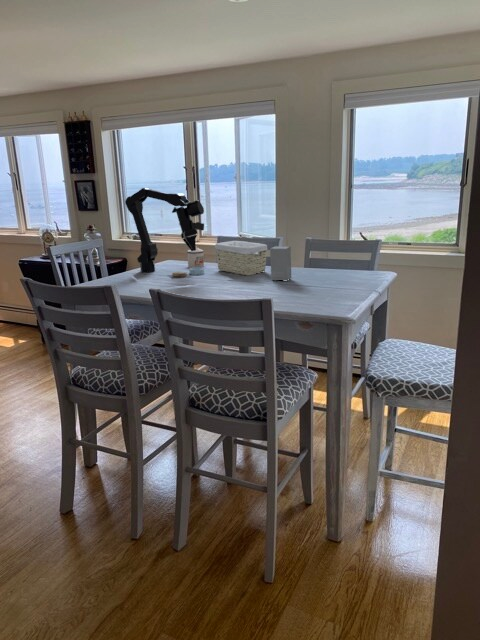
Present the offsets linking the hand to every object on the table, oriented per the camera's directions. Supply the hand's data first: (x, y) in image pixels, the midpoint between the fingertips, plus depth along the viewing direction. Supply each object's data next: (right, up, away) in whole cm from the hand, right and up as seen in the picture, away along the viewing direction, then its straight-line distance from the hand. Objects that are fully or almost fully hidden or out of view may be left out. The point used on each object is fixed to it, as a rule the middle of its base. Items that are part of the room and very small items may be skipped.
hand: (193, 250), depth 232 cm
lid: (-7, -13, -1) cm, 14 cm away
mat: (-7, -14, 0) cm, 15 cm away
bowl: (+1, -12, +6) cm, 13 cm away
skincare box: (+42, -15, -8) cm, 46 cm away
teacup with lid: (-1, -5, +30) cm, 30 cm away
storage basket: (+24, -9, +14) cm, 29 cm away
